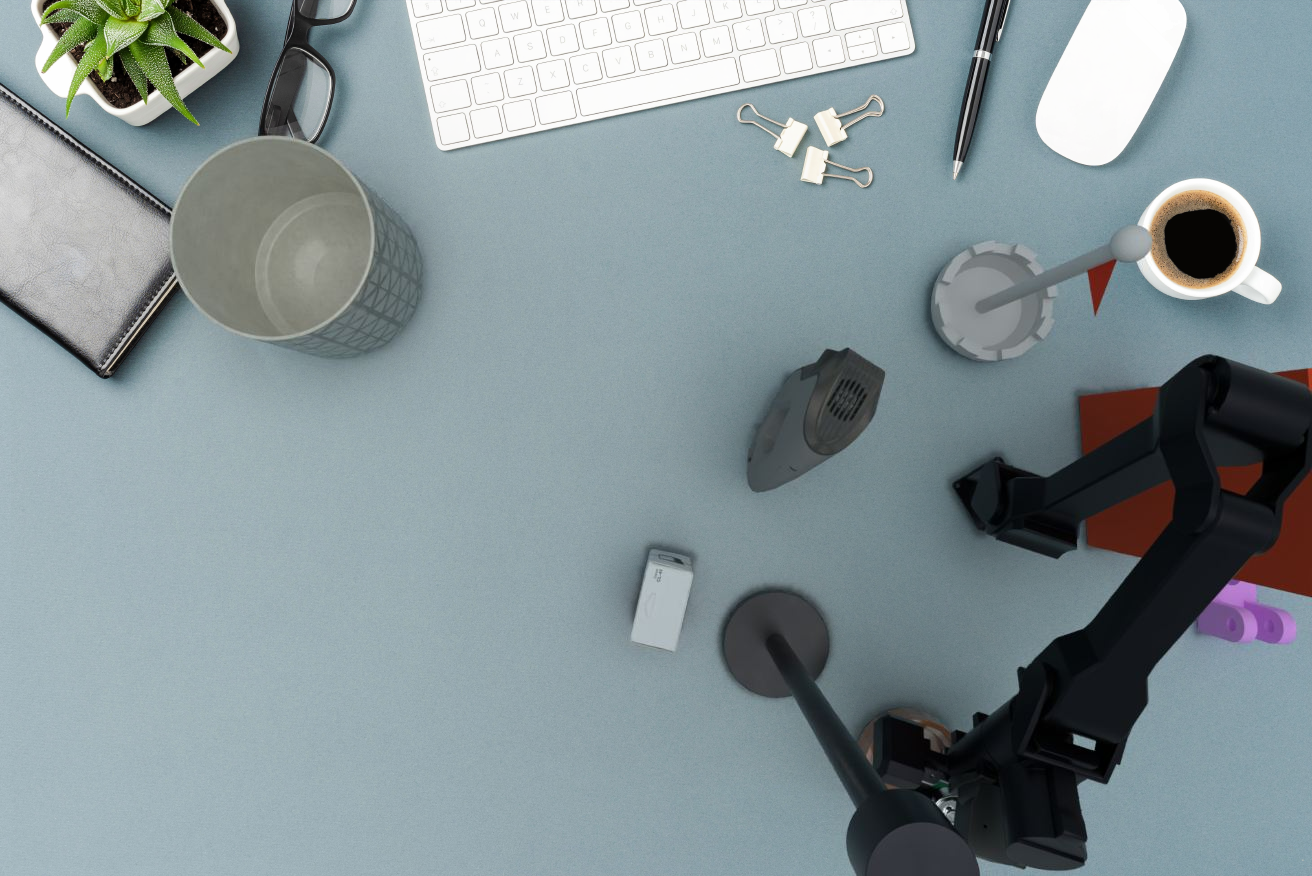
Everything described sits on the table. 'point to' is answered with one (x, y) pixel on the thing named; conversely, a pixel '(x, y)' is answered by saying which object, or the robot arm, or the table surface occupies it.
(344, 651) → the table surface
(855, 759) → the desk lamp
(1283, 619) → the bracket
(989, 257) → the flag stand
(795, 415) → the handheld device
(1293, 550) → the file binder
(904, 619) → the table surface
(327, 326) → the planter
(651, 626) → the ink box
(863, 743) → the bowl
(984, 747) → the robot arm
